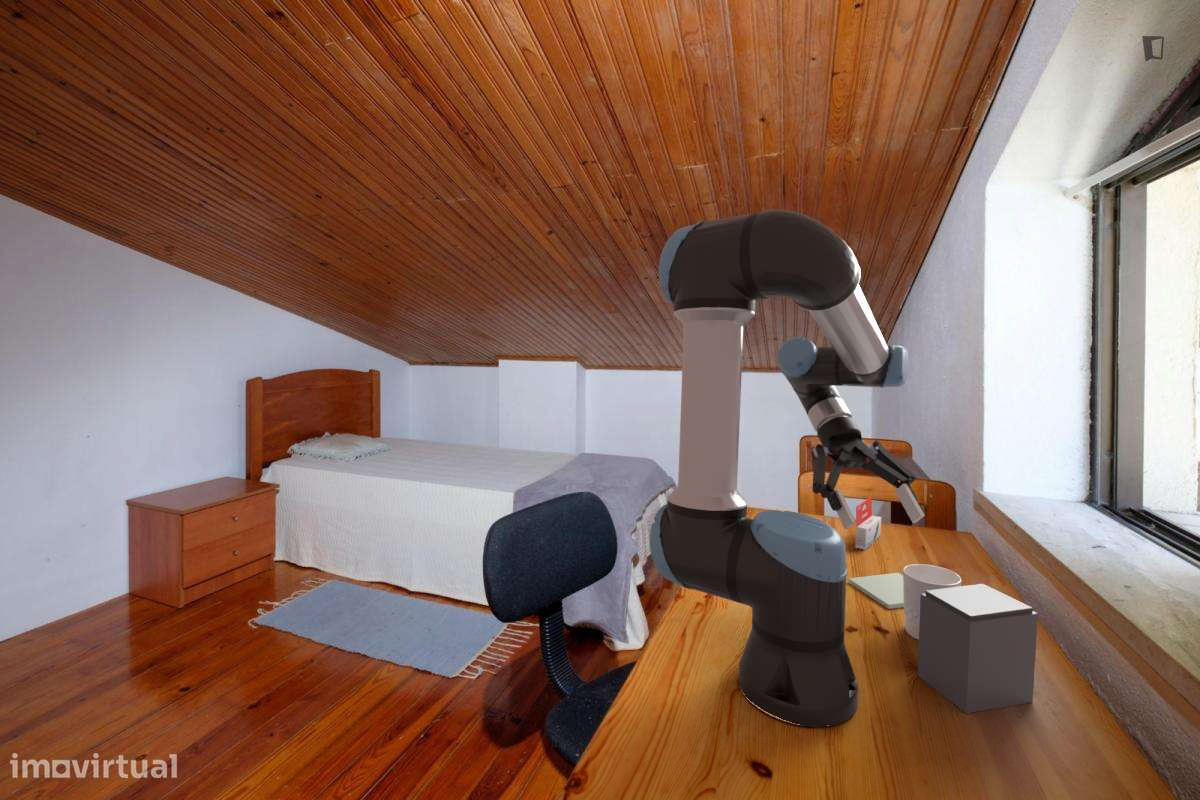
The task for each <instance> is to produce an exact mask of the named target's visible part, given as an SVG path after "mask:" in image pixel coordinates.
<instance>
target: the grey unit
mask: <svg viewBox="0 0 1200 800" xmlns="http://www.w3.org/2000/svg"><path fill="white" fill-rule="evenodd" d="M1033 609H1034V608H1033V607H1032V606H1030V605H1028V604H1026V603H1023V602H1021V601H1019V600H1017V599H1015V598H1013V597H1011V596H1009V595H1007V594H1004V593H1003V592H1001V591H999V590H997V589H994V588H993V587H990V586H989V585H987V584H984V583H977V584H970V585H969V584H968V585H961V586H959V587H951V588H943V589H935V590H927V591H926V593H923V594H921V599H920V625H919V640H918V655H917V656H918V657H917V677H919V679H921V680H922V681H923V682H925V683H926V684H927V685H929V686H930V687H931V688H932V689H933V690H935V691H936V692H937V693H938V694H940V695H941V696H943V697H944V698H945V699H947V700H948V701H949V702H950V703H952V704H953V705H954V704H955V705H956V707H957V706H958V707H959V708H960V709H959V708H958V707H957V708H958V709H959V710H961V711H962V712H963V711H964V712H965V713H964V714H966V713H968V714H970V713H969V712H974V713H978V712H977V711H979V712H984V711H990V710H989V709H991V710H996V708H997V709H1001V708H1008V707H1013V706H1018V705H1026V704H1031V703H1033V701H1034V700H1033V699H1034V685H1035V684H1034V683H1035V669H1036V667H1035V666H1036V655H1037V654H1036V652H1037V651H1036V650H1037V637H1038V636H1037V635H1038V621H1039V620H1038V619H1039V613H1037V612H1036V611H1034V610H1033ZM955 705H954V706H955Z"/></svg>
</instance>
